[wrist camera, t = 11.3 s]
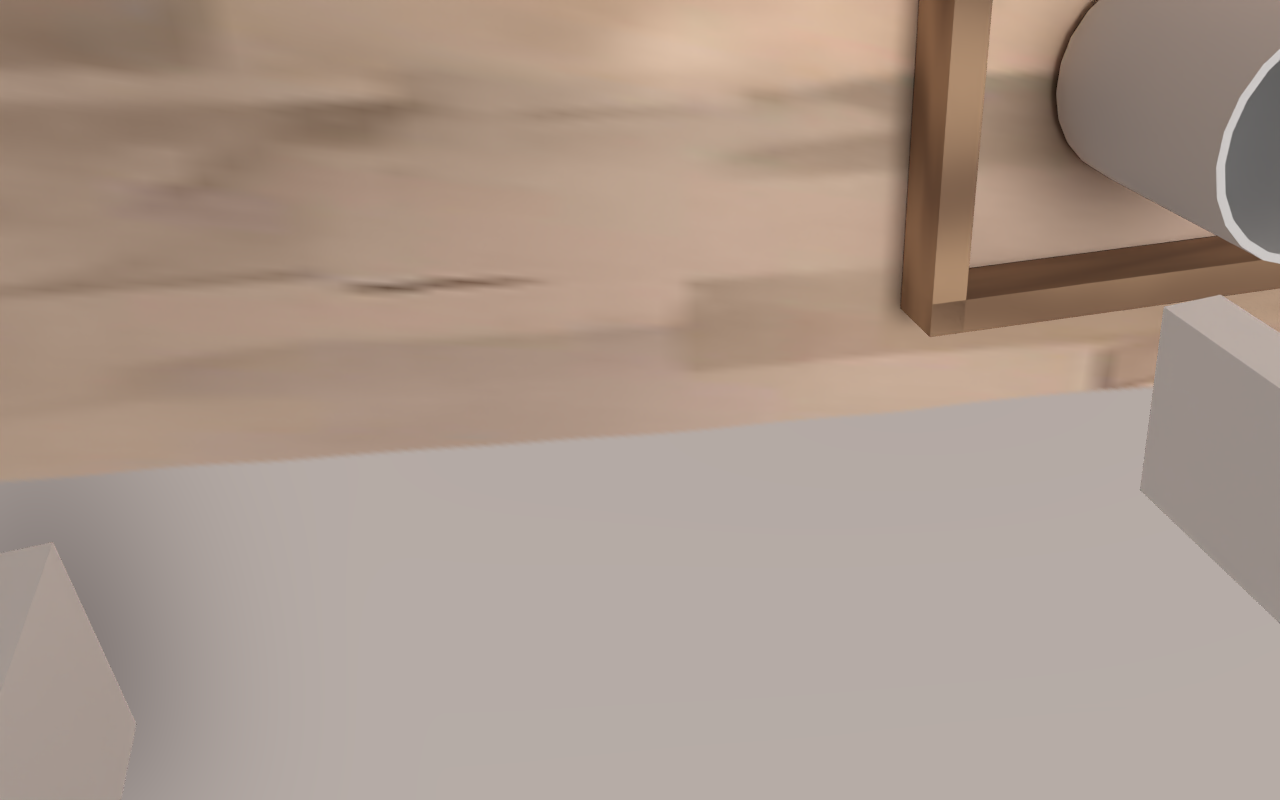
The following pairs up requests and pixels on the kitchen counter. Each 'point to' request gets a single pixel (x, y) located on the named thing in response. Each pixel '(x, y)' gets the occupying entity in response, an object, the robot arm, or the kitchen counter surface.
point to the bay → (944, 212)
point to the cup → (1183, 109)
